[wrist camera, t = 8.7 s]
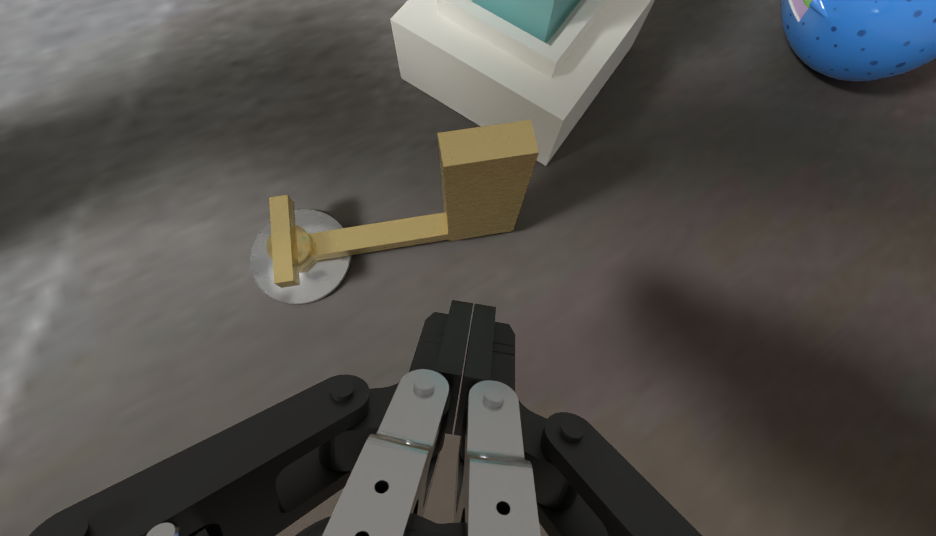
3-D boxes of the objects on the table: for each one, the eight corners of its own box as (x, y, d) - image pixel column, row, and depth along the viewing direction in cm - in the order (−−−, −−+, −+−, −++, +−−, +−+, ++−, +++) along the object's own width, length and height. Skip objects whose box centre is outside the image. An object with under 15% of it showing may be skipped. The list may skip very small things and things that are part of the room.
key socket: (232, 268, 26) (229, 266, 26) (297, 194, 28) (295, 191, 27) (308, 324, 26) (306, 323, 25) (371, 245, 27) (370, 243, 27)
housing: (401, 78, 30) (386, 1, 25) (495, -29, 33) (503, -120, 27) (545, 166, 29) (568, 106, 23) (632, 46, 32) (672, -35, 26)
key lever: (281, 297, 25) (186, 245, 17) (276, 218, 27) (186, 132, 18) (518, 257, 26) (548, 189, 17) (502, 184, 28) (522, 86, 19)
